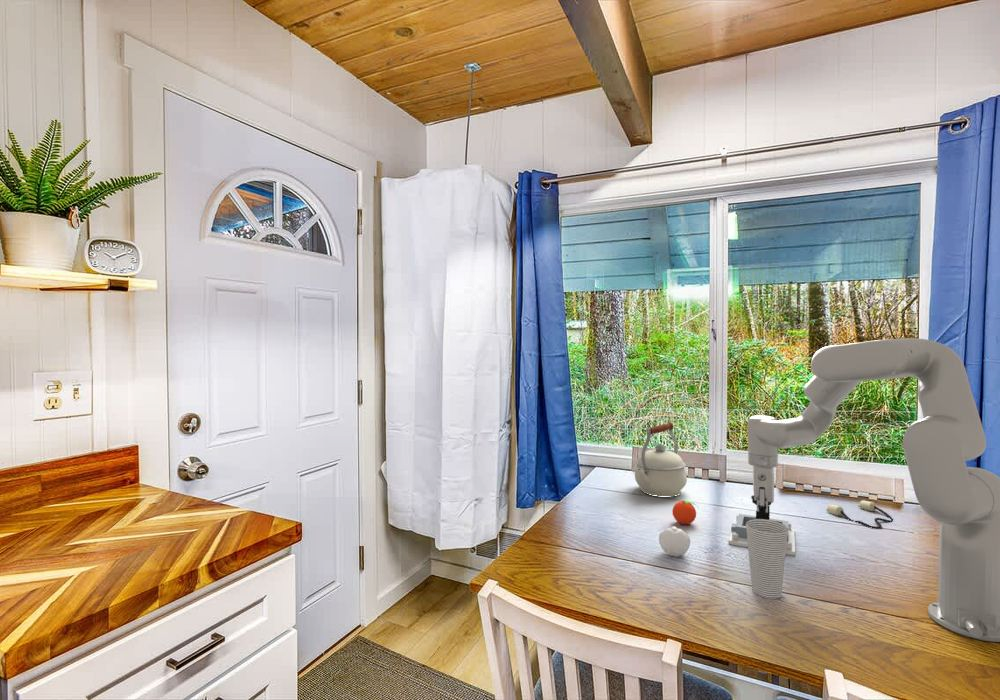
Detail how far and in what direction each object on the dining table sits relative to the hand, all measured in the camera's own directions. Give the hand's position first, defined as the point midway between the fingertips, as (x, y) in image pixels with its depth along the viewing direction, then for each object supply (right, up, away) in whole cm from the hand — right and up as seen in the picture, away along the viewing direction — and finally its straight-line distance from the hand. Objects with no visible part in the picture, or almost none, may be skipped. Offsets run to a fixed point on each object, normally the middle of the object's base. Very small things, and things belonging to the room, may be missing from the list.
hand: (762, 521), depth 144 cm
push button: (0, -2, -1) cm, 2 cm away
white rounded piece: (-29, -6, -10) cm, 31 cm away
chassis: (0, -5, 0) cm, 5 cm away
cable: (+40, -4, +14) cm, 43 cm away
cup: (-14, -6, -29) cm, 33 cm away
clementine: (-18, -5, +12) cm, 22 cm away
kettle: (-17, -4, +41) cm, 45 cm away
